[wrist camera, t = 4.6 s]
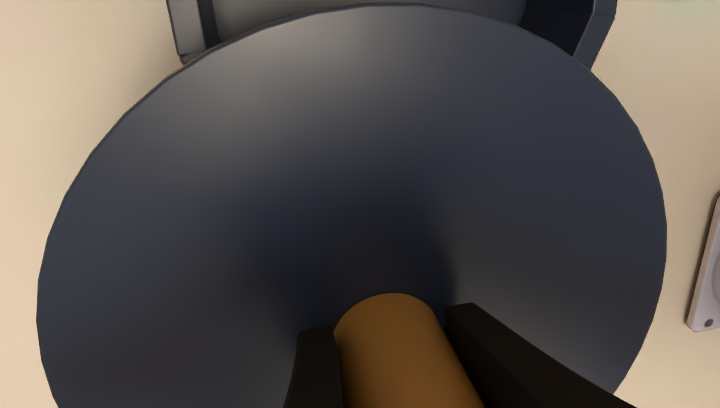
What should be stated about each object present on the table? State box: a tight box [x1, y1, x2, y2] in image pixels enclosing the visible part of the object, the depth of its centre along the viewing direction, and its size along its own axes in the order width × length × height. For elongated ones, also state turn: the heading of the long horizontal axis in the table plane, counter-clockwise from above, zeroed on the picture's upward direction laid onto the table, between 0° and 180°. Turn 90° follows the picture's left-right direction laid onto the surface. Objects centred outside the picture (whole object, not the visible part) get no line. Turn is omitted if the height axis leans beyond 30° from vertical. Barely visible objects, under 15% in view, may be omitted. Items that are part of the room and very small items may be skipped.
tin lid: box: [36, 3, 667, 408], centre depth 10 cm, size 14×14×4 cm
